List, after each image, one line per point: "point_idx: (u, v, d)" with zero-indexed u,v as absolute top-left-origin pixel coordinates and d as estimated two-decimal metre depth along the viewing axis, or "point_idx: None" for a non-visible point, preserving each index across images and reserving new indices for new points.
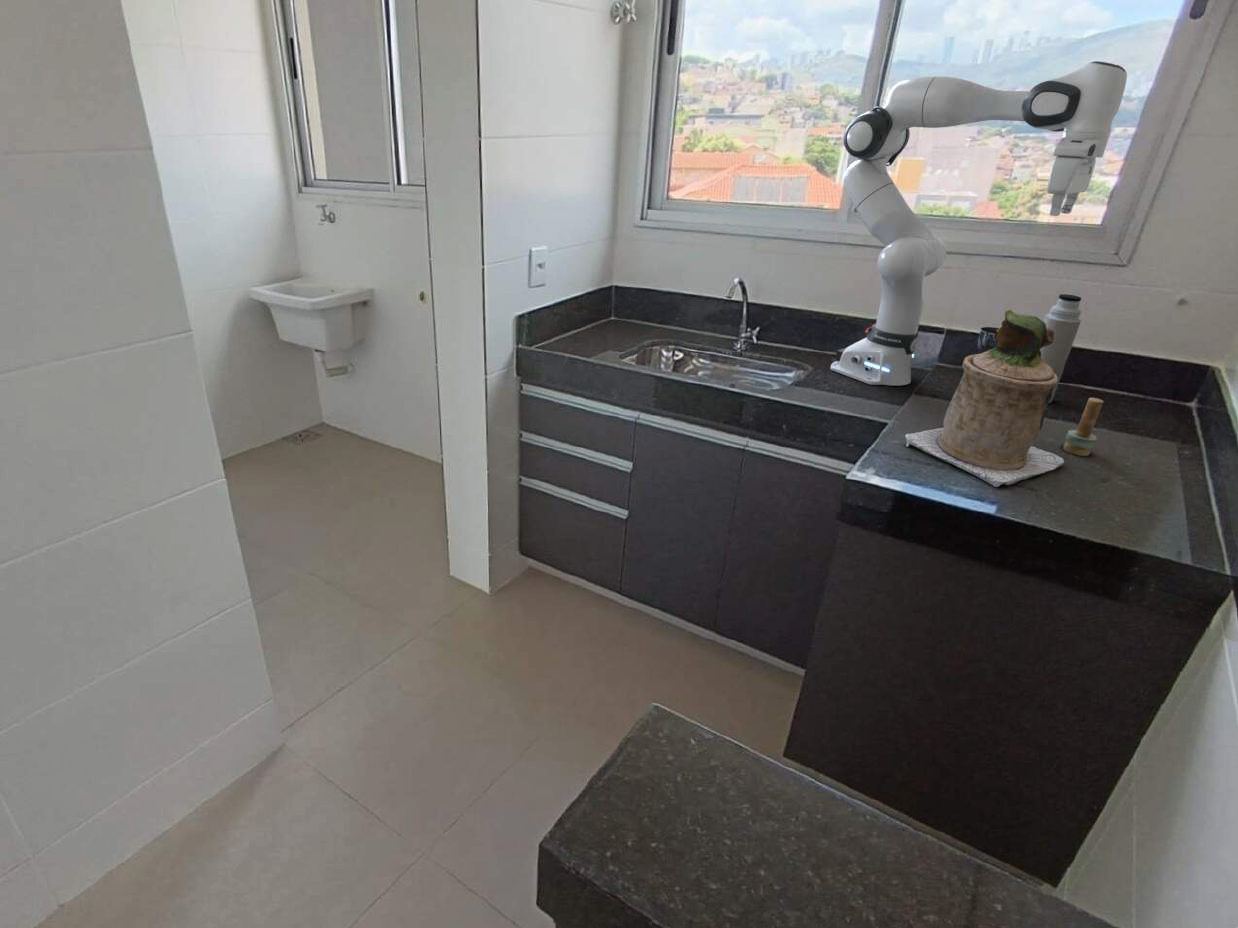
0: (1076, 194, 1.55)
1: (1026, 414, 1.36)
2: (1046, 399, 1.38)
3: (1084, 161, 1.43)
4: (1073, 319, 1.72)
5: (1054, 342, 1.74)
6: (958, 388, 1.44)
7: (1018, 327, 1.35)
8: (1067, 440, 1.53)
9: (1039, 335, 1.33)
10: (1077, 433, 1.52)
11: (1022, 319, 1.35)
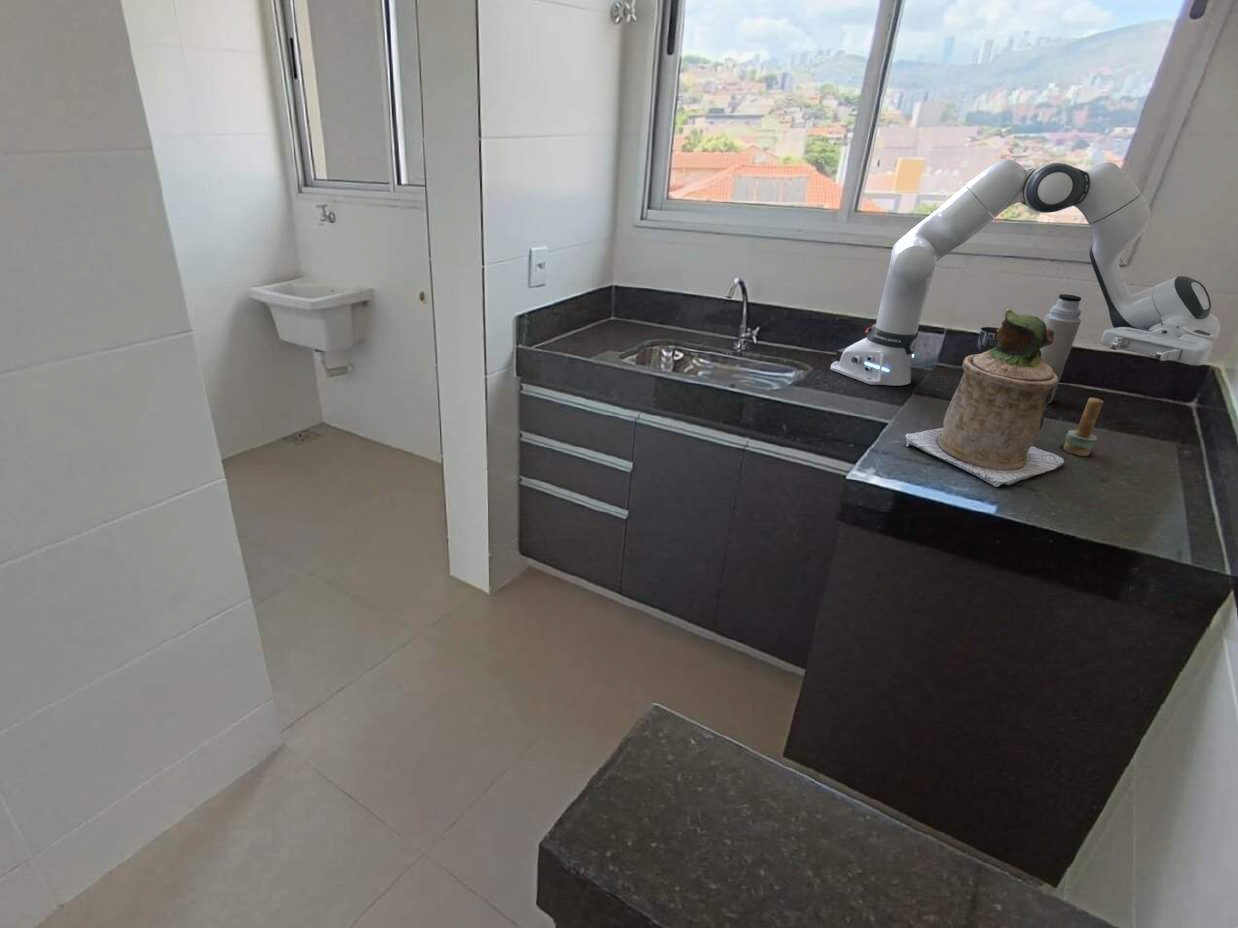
0: (1120, 346, 1.56)
1: (1026, 414, 1.36)
2: (1046, 399, 1.38)
3: None
4: (1073, 319, 1.72)
5: (1054, 342, 1.74)
6: (958, 388, 1.44)
7: (1018, 327, 1.35)
8: (1067, 440, 1.53)
9: (1039, 335, 1.33)
10: (1077, 433, 1.52)
11: (1022, 318, 1.35)
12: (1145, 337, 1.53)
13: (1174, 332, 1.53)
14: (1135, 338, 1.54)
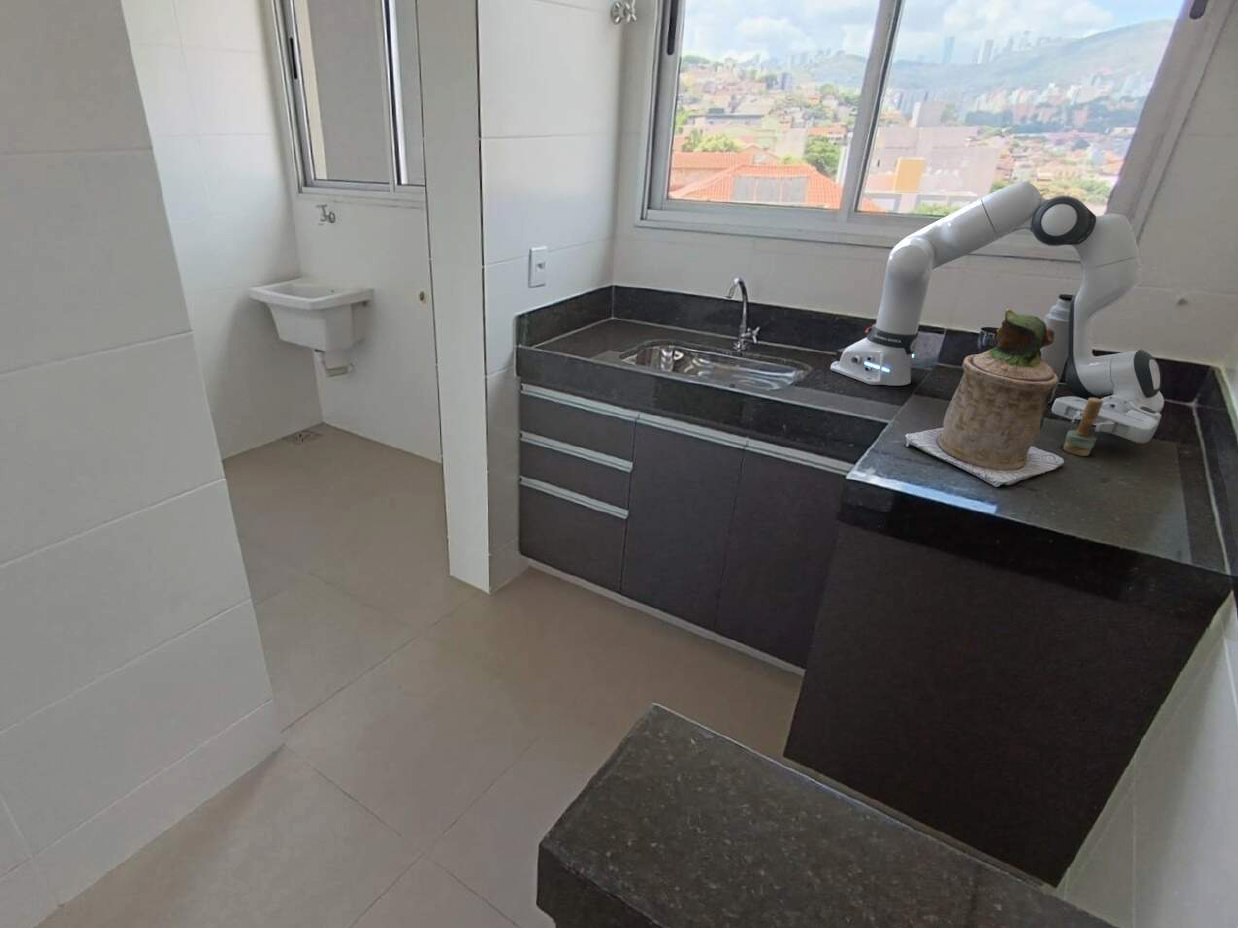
0: None
1: (1026, 414, 1.36)
2: (1046, 399, 1.38)
3: None
4: None
5: (1054, 342, 1.74)
6: (958, 388, 1.44)
7: (1018, 327, 1.35)
8: (1067, 440, 1.53)
9: (1039, 335, 1.33)
10: (1077, 433, 1.52)
11: (1022, 318, 1.35)
12: None
13: (1121, 407, 1.54)
14: None
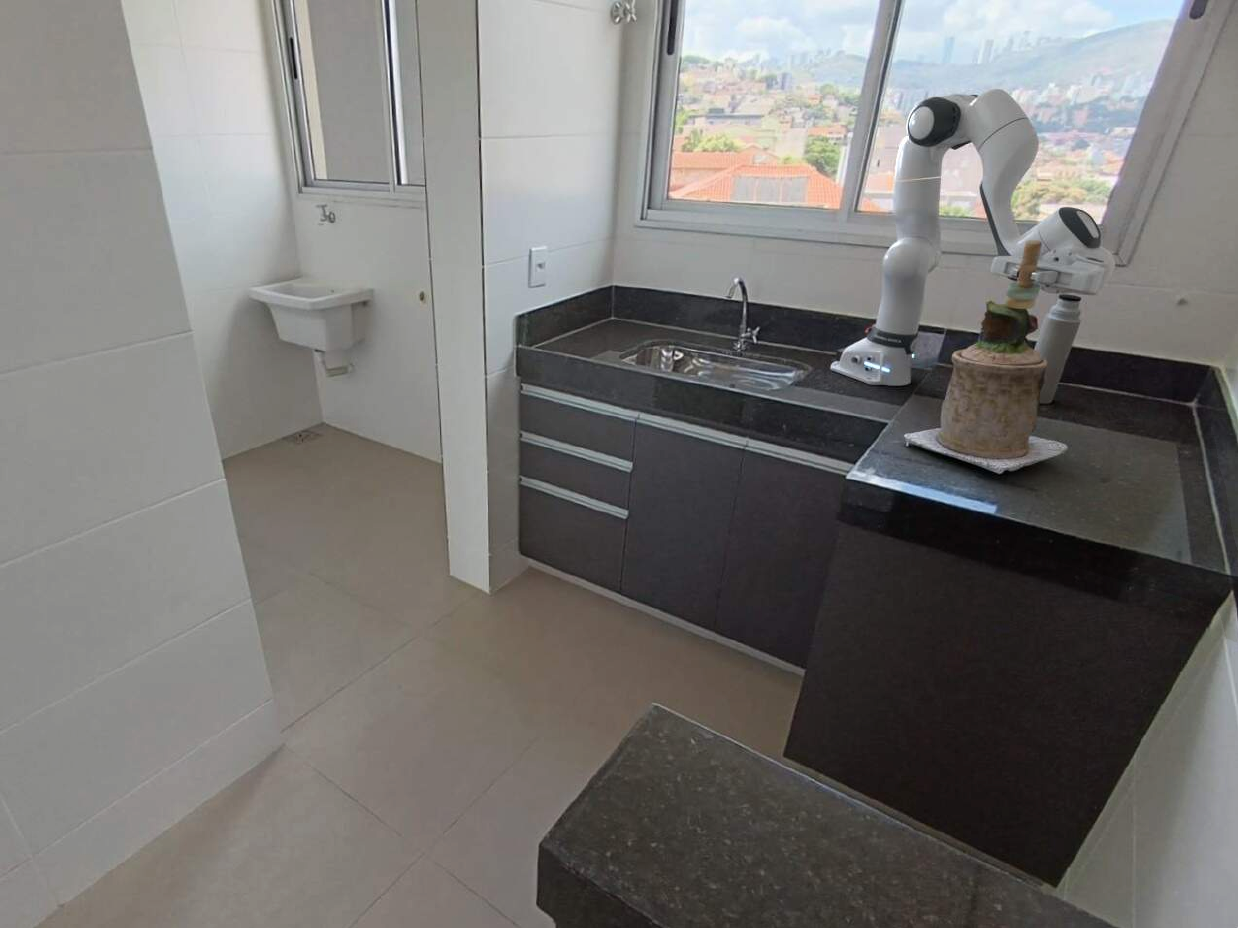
0: None
1: (1021, 399, 1.36)
2: (1039, 384, 1.38)
3: (1080, 291, 1.35)
4: (1073, 319, 1.72)
5: (1054, 342, 1.74)
6: (950, 382, 1.45)
7: (1000, 315, 1.37)
8: (1007, 294, 1.36)
9: (1022, 321, 1.35)
10: (1018, 284, 1.34)
11: (1003, 307, 1.38)
12: None
13: (1066, 259, 1.36)
14: None
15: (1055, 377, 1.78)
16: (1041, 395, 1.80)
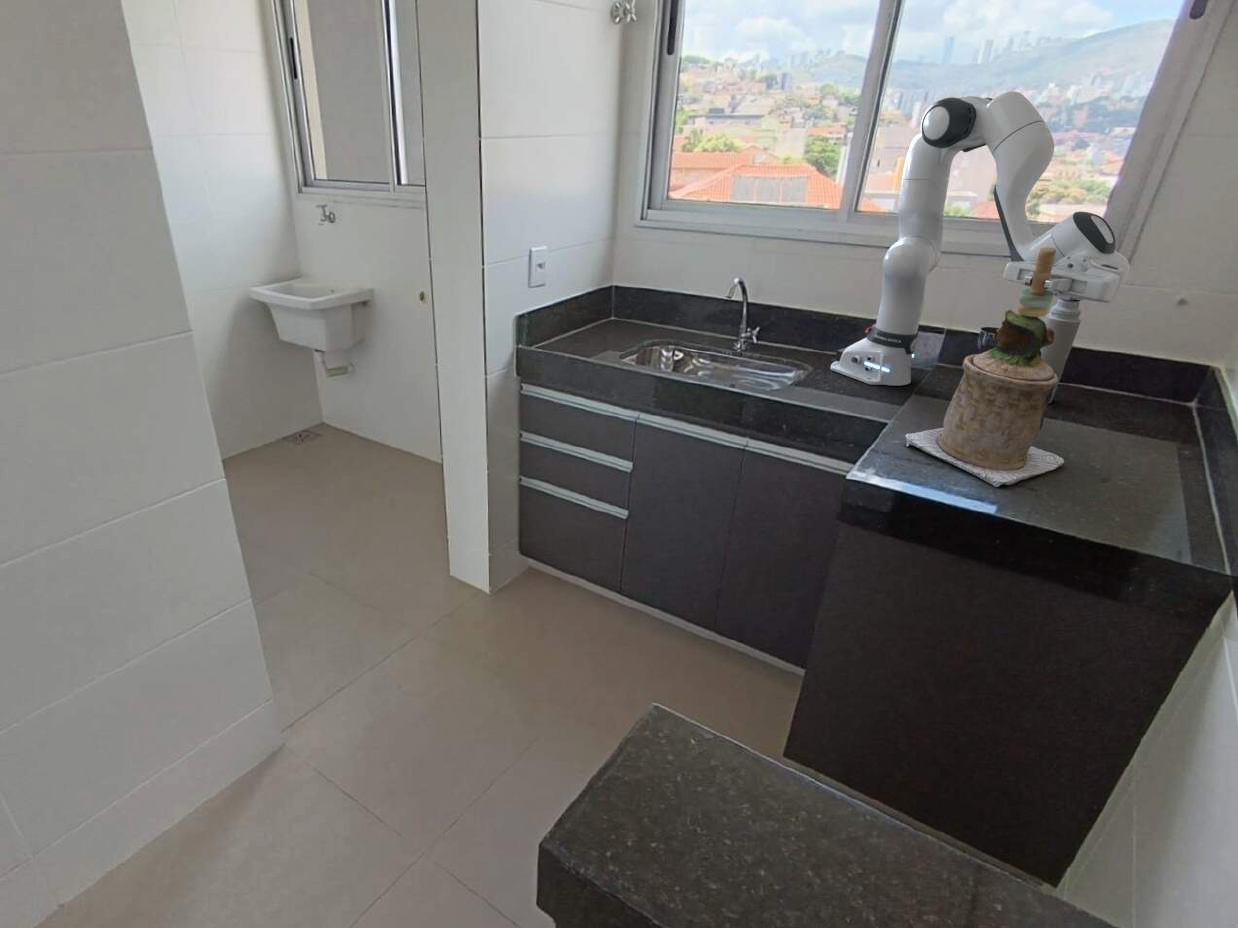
0: None
1: (1027, 414, 1.36)
2: (1046, 399, 1.38)
3: None
4: (1073, 319, 1.72)
5: (1054, 342, 1.74)
6: (958, 388, 1.44)
7: (1018, 327, 1.35)
8: (1020, 301, 1.35)
9: (1039, 335, 1.33)
10: (1031, 291, 1.33)
11: (1022, 318, 1.35)
12: None
13: (1080, 266, 1.35)
14: None
15: None
16: None
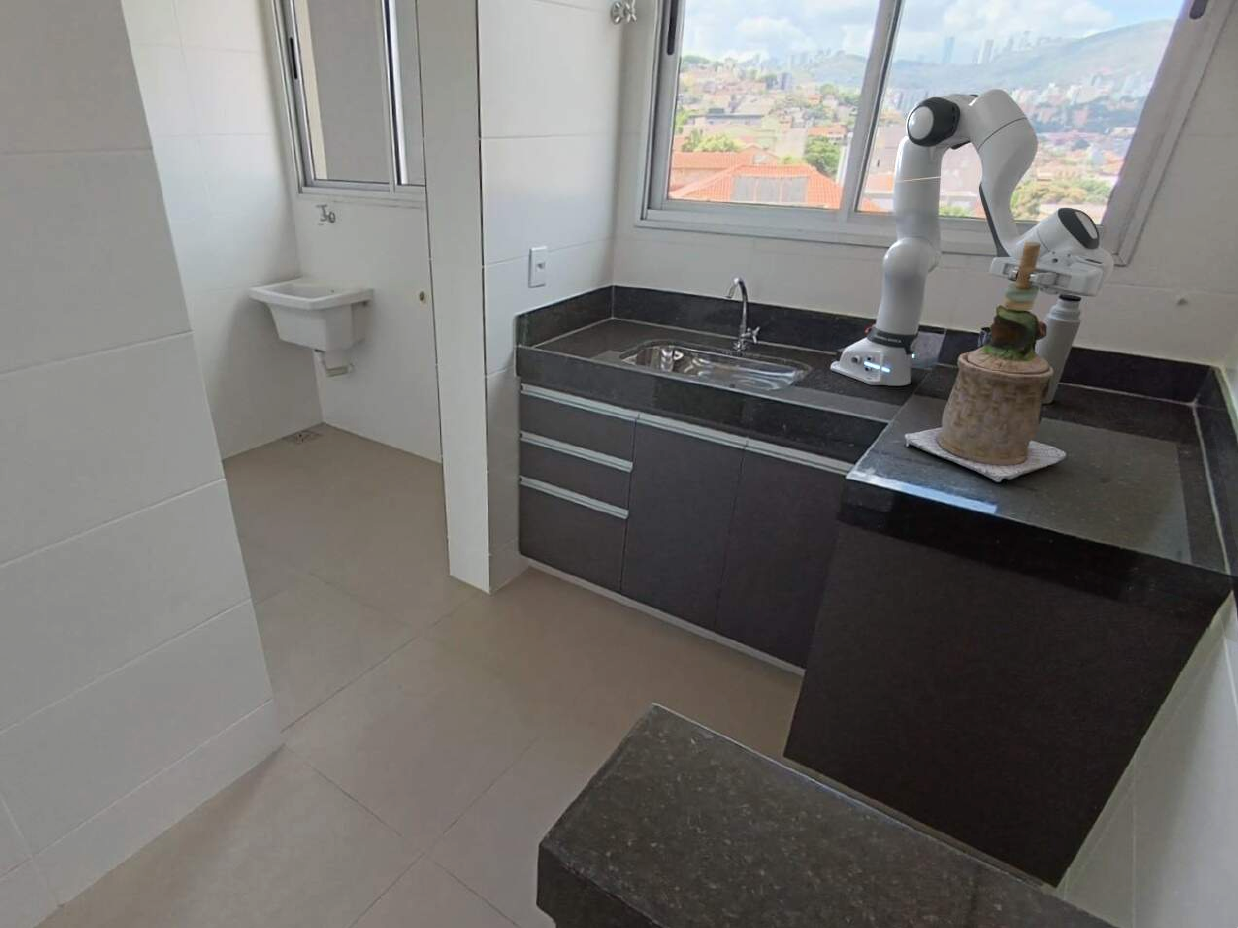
0: None
1: (1024, 408, 1.36)
2: (1043, 392, 1.38)
3: (1079, 292, 1.36)
4: (1073, 319, 1.72)
5: (1054, 342, 1.74)
6: (954, 385, 1.45)
7: (1010, 322, 1.35)
8: (1006, 295, 1.36)
9: (1031, 328, 1.33)
10: (1016, 286, 1.35)
11: (1013, 313, 1.36)
12: None
13: (1065, 261, 1.37)
14: None
15: (1055, 377, 1.78)
16: None
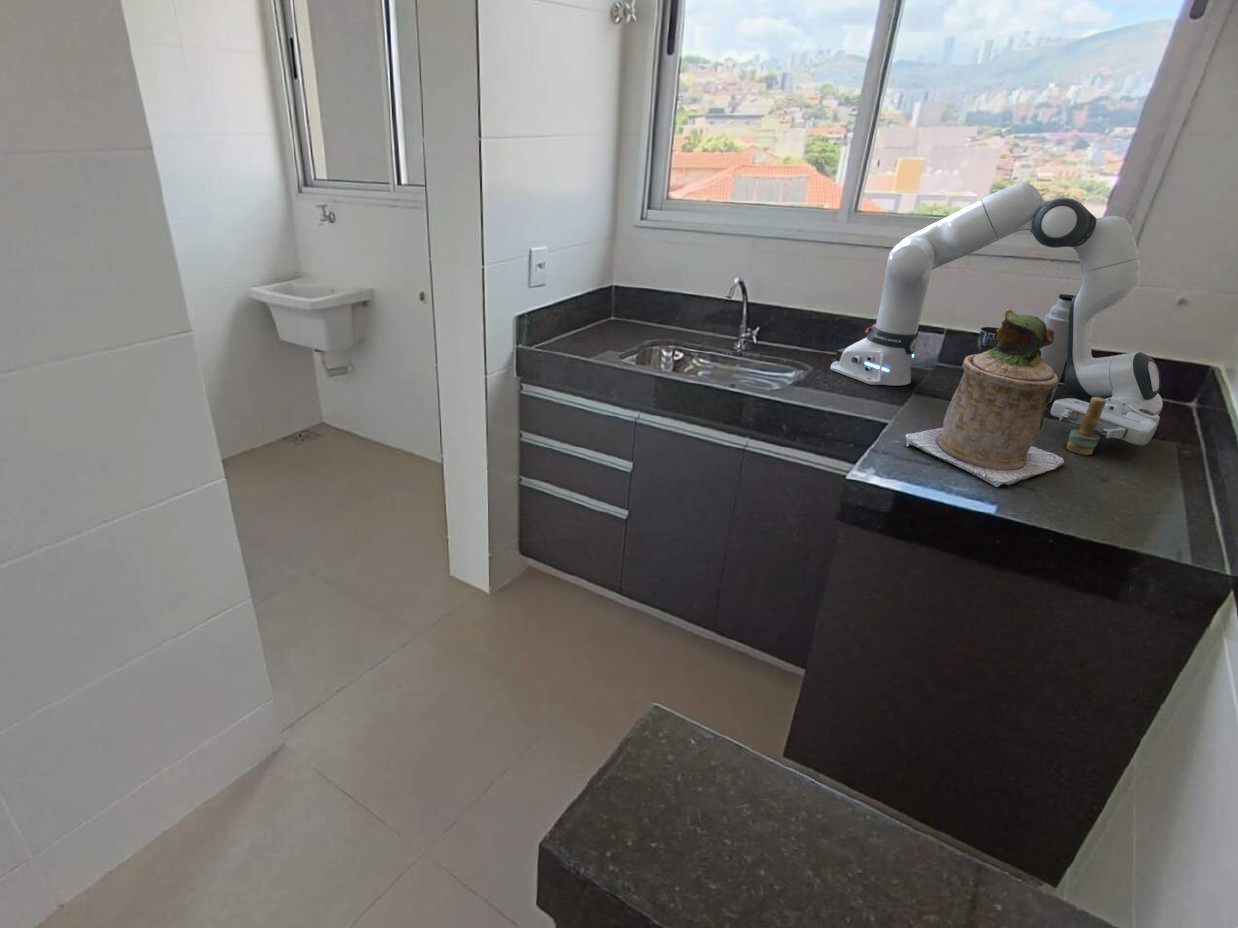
0: None
1: (1027, 414, 1.36)
2: (1046, 399, 1.38)
3: None
4: None
5: (1054, 342, 1.74)
6: (958, 388, 1.44)
7: (1018, 327, 1.35)
8: (1070, 439, 1.54)
9: (1039, 335, 1.33)
10: (1080, 432, 1.53)
11: (1022, 318, 1.35)
12: None
13: (1120, 409, 1.54)
14: (1083, 412, 1.55)
15: None
16: None
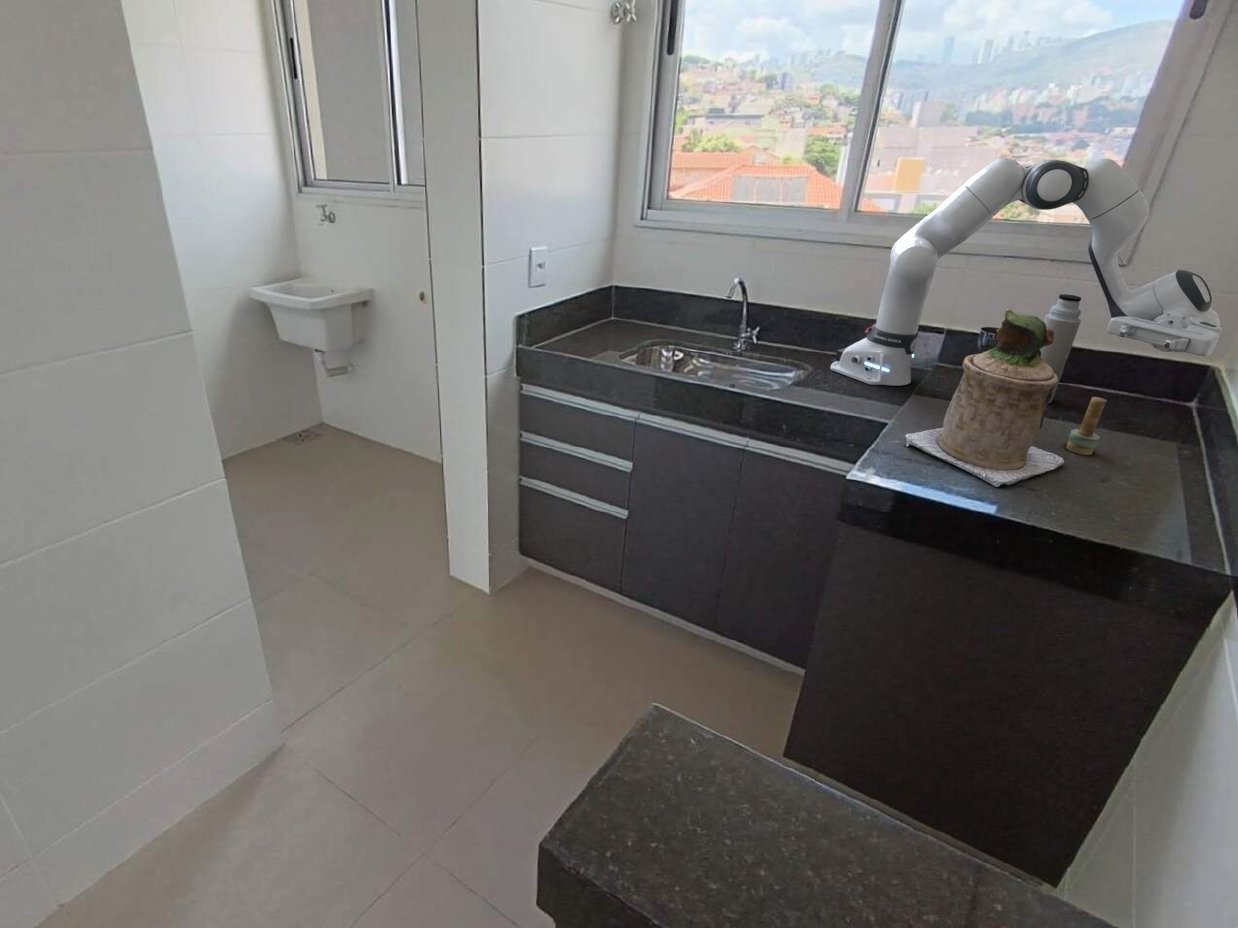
0: None
1: (1027, 414, 1.36)
2: (1046, 399, 1.38)
3: None
4: (1073, 319, 1.72)
5: (1054, 342, 1.74)
6: (958, 388, 1.44)
7: (1018, 327, 1.35)
8: (1070, 439, 1.54)
9: (1039, 335, 1.33)
10: (1080, 432, 1.53)
11: (1022, 318, 1.35)
12: (1152, 326, 1.52)
13: (1180, 323, 1.52)
14: (1143, 326, 1.53)
15: None
16: None
